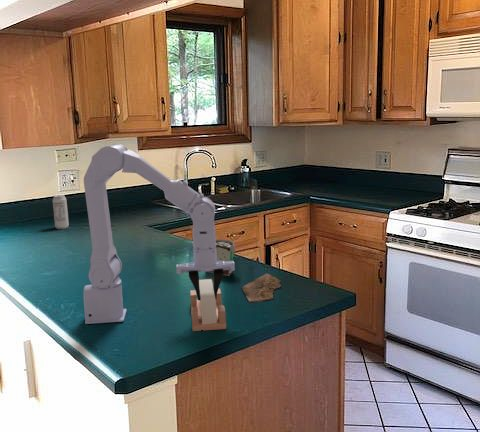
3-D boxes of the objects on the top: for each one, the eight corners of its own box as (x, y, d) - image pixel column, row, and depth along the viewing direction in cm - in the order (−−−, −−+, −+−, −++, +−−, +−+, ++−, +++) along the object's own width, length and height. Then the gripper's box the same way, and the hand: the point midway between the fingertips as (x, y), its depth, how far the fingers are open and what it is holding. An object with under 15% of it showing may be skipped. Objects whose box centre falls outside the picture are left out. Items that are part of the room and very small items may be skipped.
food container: (243, 271, 172) (243, 241, 170) (232, 276, 167) (232, 245, 165) (213, 266, 178) (212, 237, 176) (202, 270, 174) (200, 241, 172)
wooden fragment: (270, 304, 142) (270, 301, 142) (231, 302, 145) (231, 298, 145) (288, 276, 167) (288, 273, 166) (254, 274, 170) (254, 271, 169)
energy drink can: (71, 226, 248) (68, 194, 245) (65, 229, 242) (62, 196, 239) (59, 226, 249) (56, 194, 246) (52, 229, 243) (49, 196, 240)
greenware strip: (202, 324, 127) (201, 300, 126) (199, 301, 143) (198, 279, 142) (216, 323, 128) (215, 299, 127) (212, 300, 143) (211, 279, 142)
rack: (192, 331, 126) (191, 315, 125) (190, 303, 145) (190, 289, 144) (226, 328, 127) (225, 313, 126) (220, 301, 145) (219, 287, 145)
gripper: (175, 252, 128) (178, 306, 130) (235, 249, 129) (236, 302, 132) (175, 245, 134) (178, 296, 137) (232, 242, 136) (234, 292, 139)
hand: (206, 298), depth 135 cm, fingers closed on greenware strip, 3 cm apart
